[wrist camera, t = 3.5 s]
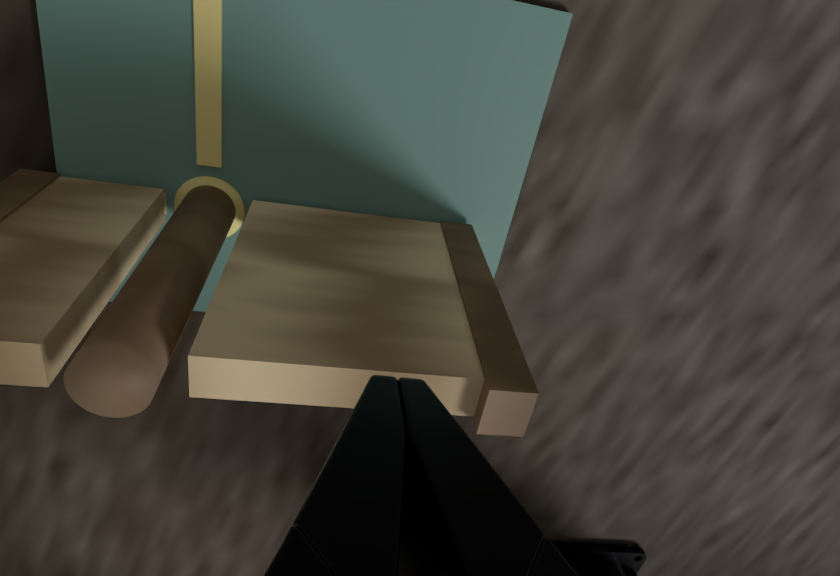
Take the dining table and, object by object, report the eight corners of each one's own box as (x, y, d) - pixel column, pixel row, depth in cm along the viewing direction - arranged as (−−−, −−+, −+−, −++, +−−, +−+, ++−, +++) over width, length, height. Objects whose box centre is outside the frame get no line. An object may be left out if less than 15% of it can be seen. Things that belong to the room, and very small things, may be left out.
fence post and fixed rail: (35, 207, 20) (-200, 398, 12) (27, 158, 19) (-235, 326, 11) (237, 230, 21) (156, 420, 13) (238, 184, 21) (151, 356, 12)
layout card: (570, 12, 19) (574, 13, 18) (474, 337, 25) (475, 342, 25) (28, -107, 16) (20, -108, 16) (75, 293, 22) (70, 298, 22)
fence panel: (251, 232, 21) (183, 415, 13) (253, 197, 20) (181, 366, 12) (464, 257, 22) (523, 437, 14) (471, 224, 22) (538, 393, 14)
